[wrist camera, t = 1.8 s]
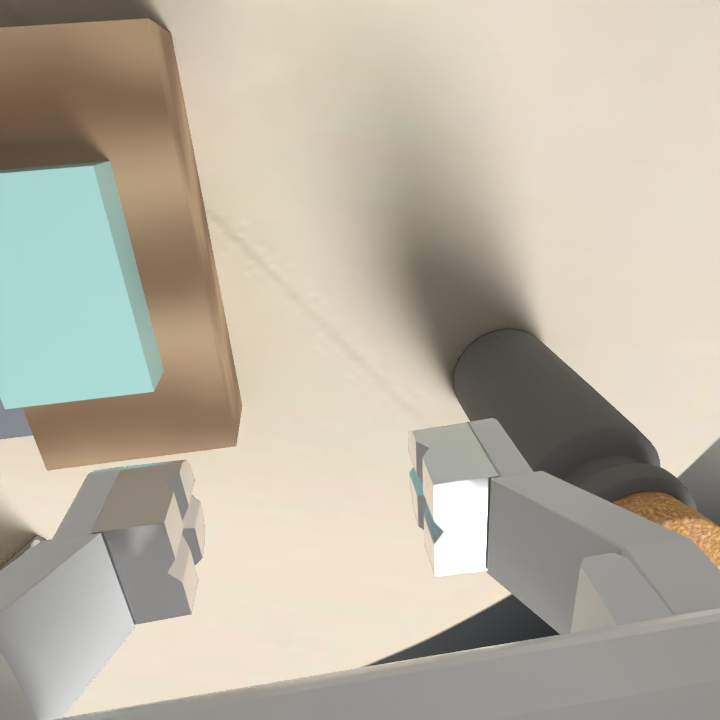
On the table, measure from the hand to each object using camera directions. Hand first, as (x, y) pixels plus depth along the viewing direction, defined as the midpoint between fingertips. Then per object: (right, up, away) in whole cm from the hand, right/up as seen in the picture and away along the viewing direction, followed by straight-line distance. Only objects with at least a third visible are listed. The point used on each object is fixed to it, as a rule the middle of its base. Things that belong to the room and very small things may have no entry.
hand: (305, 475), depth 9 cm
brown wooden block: (-11, +7, +16) cm, 21 cm away
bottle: (+9, +1, +22) cm, 24 cm away
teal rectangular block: (-11, +5, +13) cm, 18 cm away
